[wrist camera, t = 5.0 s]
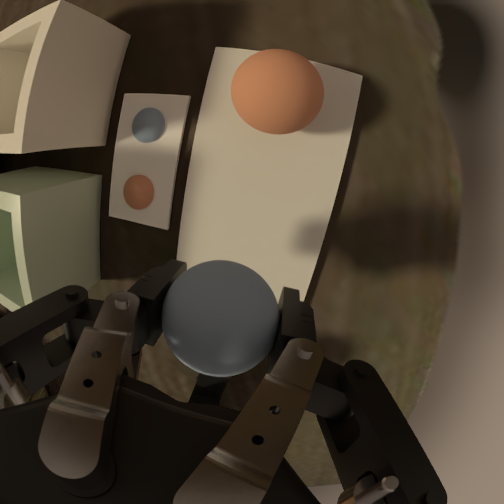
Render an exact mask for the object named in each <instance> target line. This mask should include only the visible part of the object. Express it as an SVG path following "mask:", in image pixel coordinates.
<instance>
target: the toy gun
mask: <svg viewBox="0 0 504 504" xmlns="http://www.w3.org/2000/svg"><path fill="white" fill-rule="evenodd" d="M230 378H231V376H228V377H216V376H209V375H205V374H202V373H198V376H197V382H196V385H195V387H194V390H193V392H192V395H191V397H190V400H189V402H188V403H195V404H208V405H216V406H219V405H220V404H219V401H220V398H221V395H222V392H223V390H224V388H225V386H226V384H227V382H228V381H229V380H230Z"/></svg>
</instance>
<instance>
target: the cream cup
mask: <svg viewBox="0 0 504 504" xmlns="http://www.w3.org/2000/svg"><path fill="white" fill-rule="evenodd" d="M130 37H131V35H130V34H128V33H126V32H124V31H123V30H121V29H119V28H117V27H116V26H114V25H112V24H110V23H108V22H107V21H105V20H103V19H101V18H99V17H97V16H95V15H93V14H91V13H89V12H87V11H85V10H83V9H81V8H79V7H77V6H75V5H73V4H71V3H68V2H66V1H64V0H58V1H56V2H54V3H52V4H50V5H48V6H45V7H43V8H41V9H39V10H37V11H36V12H34V13H32V14H30V15H28V16H26V17H24V18H23V19H21V20H19V21H17V22H16V23H14V24H12V25H11V26H9V27H8V28H6V29H4V30H3V31H1V32H0V153H12V154H24V153H31V152H38V151H46V150H55V149H65V148H77V147H92V146H106V141H107V134H108V128H109V122H110V117H111V111H112V106H113V101H114V96H115V92H116V88H117V83H118V79H119V75H120V71H121V68H122V64H123V60H124V57H125V53H126V50H127V47H128V44H129V40H130Z"/></svg>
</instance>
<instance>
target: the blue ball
mask: <svg viewBox="0 0 504 504" xmlns="http://www.w3.org/2000/svg"><path fill="white" fill-rule="evenodd" d="M279 321H280V316H279V308H278V304H277V300H276V298H275V295H274V293H273V291H272V290H271V288H270V286H269V285H268V284H267V282H266V281H265V280H264V279H263V278H262V277H261V276H260V275H259V274H258V273H256V272H255V271H254V270H252V269H250V268H249V267H247V266H245V265H242V264H240V263H237V262H233V261H227V260H212V261H207V262H203V263H200V264H197V265H195V266H193V267H191V268H189V269H188V270H186V271H185V272H183V273H182V274H181V275H180V276H179V277H178V278H177V279H176V280H175V281H174V283H173V284H172V285H171V287H170V289H169V290H168V292H167V294H166V297H165V300H164V303H163V307H162V328H163V333H164V336H165V338H166V341H167V343H168V345H169V347H170V348H171V350H172V351H173V353H174V354H175V355H176V357H177V358H178V359H179V360H180V361H181V362H183V363H184V364H185V365H186V366H188V367H189V368H191V369H193V370H195V371H197V372H199V373H202V374H205V375H209V376H216V377H228V376H234V375H238V374H241V373H244V372H246V371H248V370H250V369H252V368H253V367H255V366H256V365H257V364H259V363H260V362H261V361H262V360H263V359H264V358H265V357H266V356H267V355H268V353H269V352H270V350H271V349H272V347H273V345H274V342H275V339H276V336H277V332H278V327H279Z"/></svg>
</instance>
